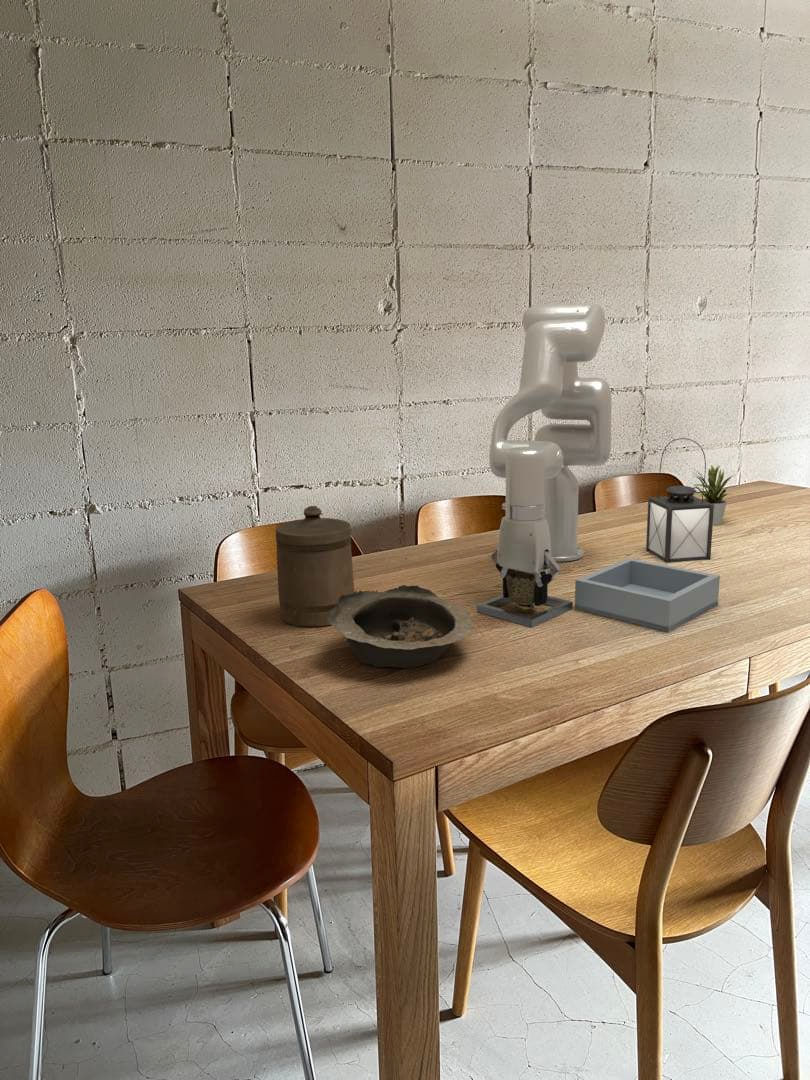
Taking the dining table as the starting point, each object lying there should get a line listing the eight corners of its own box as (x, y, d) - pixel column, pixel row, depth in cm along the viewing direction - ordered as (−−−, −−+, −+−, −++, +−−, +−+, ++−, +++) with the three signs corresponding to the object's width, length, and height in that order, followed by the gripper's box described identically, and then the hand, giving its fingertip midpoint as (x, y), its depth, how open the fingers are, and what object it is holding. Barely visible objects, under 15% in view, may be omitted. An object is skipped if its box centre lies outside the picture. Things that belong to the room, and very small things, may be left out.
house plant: (677, 516, 239) (680, 459, 235) (728, 516, 237) (732, 458, 233) (686, 528, 226) (690, 468, 222) (740, 528, 224) (745, 467, 220)
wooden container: (349, 599, 177) (344, 496, 171) (360, 623, 163) (355, 511, 157) (277, 606, 174) (270, 501, 168) (283, 631, 160) (275, 518, 154)
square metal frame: (476, 611, 167) (476, 604, 166) (518, 595, 176) (518, 588, 175) (532, 627, 157) (532, 619, 157) (572, 609, 167) (572, 601, 166)
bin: (574, 608, 167) (575, 579, 165) (627, 585, 180) (628, 558, 179) (668, 632, 153) (670, 601, 151) (717, 604, 167) (719, 575, 165)
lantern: (711, 560, 197) (719, 440, 190) (665, 563, 195) (672, 442, 188) (688, 548, 208) (695, 434, 201) (645, 550, 206) (650, 436, 199)
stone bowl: (342, 626, 161) (343, 579, 158) (473, 636, 158) (476, 590, 156) (315, 677, 137) (316, 623, 134) (469, 691, 135) (473, 636, 132)
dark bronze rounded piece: (542, 617, 162) (543, 578, 160) (504, 616, 164) (504, 576, 162) (544, 605, 169) (544, 566, 167) (507, 603, 171) (507, 565, 169)
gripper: (477, 509, 165) (478, 595, 169) (551, 522, 153) (550, 614, 158) (501, 502, 170) (501, 587, 175) (574, 514, 158) (572, 604, 163)
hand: (524, 599), depth 166 cm, fingers closed on dark bronze rounded piece, 7 cm apart
